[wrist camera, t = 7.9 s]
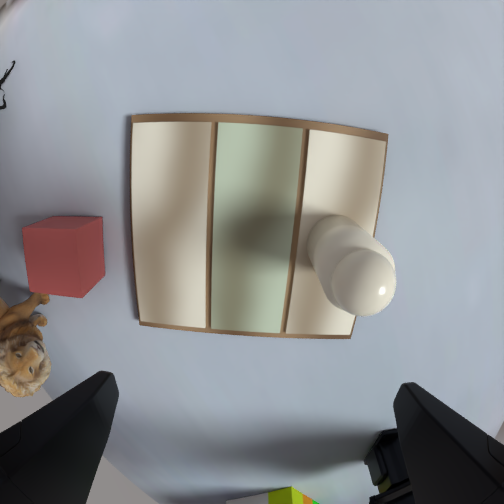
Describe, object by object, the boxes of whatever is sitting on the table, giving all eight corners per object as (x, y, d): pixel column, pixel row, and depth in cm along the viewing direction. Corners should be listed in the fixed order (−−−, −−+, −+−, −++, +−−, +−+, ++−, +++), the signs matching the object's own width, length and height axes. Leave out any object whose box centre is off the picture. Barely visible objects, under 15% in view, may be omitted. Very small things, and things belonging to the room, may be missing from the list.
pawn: (368, 218, 18) (422, 260, 11) (358, 273, 19) (399, 334, 12) (310, 212, 17) (341, 253, 11) (303, 270, 19) (325, 335, 12)
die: (75, 229, 15) (18, 227, 14) (83, 303, 16) (26, 296, 15) (104, 216, 19) (51, 215, 18) (107, 277, 20) (56, 273, 19)
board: (384, 134, 16) (389, 134, 16) (348, 334, 21) (351, 340, 21) (135, 115, 16) (130, 114, 15) (142, 320, 21) (138, 326, 20)
